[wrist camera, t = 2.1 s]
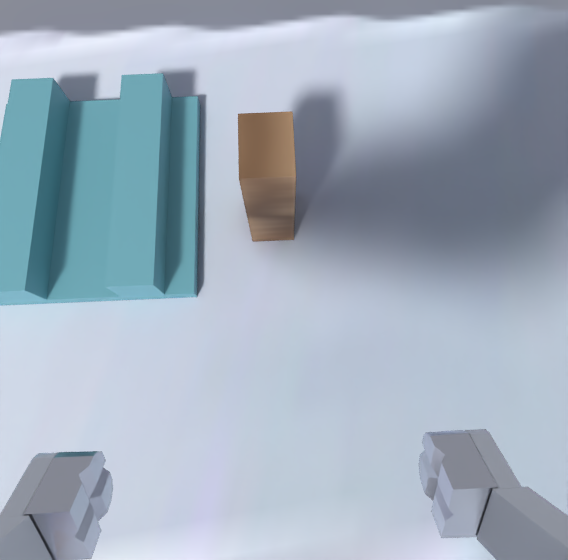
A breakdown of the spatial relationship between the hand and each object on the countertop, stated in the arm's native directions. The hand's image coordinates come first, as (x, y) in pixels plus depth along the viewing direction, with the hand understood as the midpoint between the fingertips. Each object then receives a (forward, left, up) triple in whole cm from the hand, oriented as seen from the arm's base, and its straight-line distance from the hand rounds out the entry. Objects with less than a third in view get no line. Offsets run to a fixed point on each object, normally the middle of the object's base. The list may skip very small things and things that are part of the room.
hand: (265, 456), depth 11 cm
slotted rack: (+13, -17, -17) cm, 27 cm away
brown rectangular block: (0, -15, -17) cm, 23 cm away
